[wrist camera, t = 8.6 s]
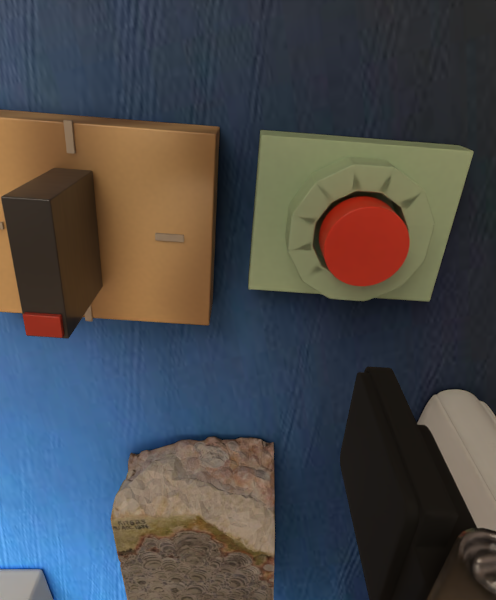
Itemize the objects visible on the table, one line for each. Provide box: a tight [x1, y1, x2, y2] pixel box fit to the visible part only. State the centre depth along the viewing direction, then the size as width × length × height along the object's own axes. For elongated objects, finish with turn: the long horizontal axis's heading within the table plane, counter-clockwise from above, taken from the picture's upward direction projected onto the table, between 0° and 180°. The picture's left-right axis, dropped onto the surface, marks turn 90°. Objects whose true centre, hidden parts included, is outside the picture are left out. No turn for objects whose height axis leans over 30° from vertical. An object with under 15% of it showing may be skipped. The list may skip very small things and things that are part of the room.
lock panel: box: [0, 110, 220, 325], centre depth 23 cm, size 13×10×3 cm
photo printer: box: [417, 389, 496, 531], centre depth 27 cm, size 10×4×12 cm, turn 171°
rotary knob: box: [1, 168, 103, 338], centre depth 20 cm, size 6×2×5 cm, turn 176°
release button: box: [319, 196, 410, 286], centre depth 21 cm, size 4×4×2 cm
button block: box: [248, 130, 474, 301], centre depth 23 cm, size 10×8×4 cm
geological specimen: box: [111, 436, 275, 600], centre depth 33 cm, size 11×6×15 cm
